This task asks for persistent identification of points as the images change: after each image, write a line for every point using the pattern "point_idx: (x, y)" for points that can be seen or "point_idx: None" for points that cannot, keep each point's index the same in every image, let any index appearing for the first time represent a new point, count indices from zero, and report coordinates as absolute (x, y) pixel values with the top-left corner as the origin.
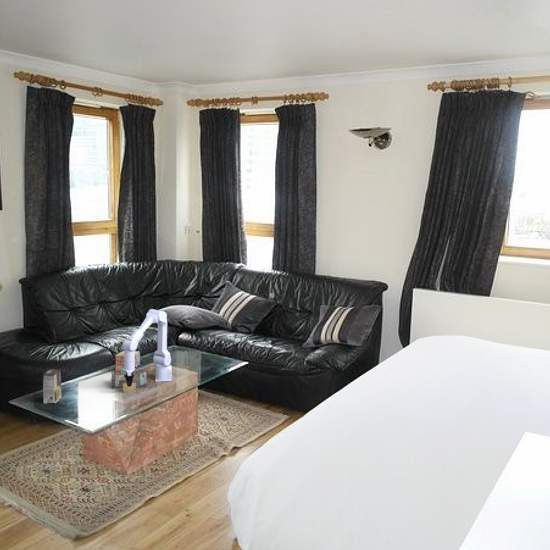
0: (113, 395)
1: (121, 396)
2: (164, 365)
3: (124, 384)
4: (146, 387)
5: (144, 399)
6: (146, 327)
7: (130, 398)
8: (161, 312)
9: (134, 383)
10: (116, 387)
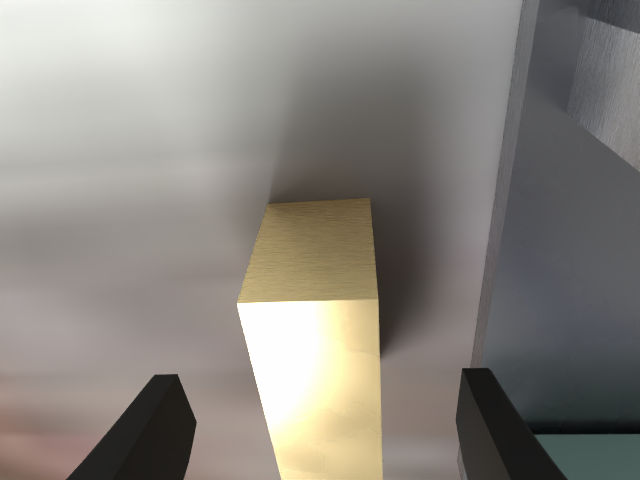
0: (58, 29)
1: (50, 193)
2: None
3: (271, 329)
4: (459, 455)
5: (35, 436)
6: None
7: (10, 316)
8: None
9: (336, 466)
10: (524, 56)
